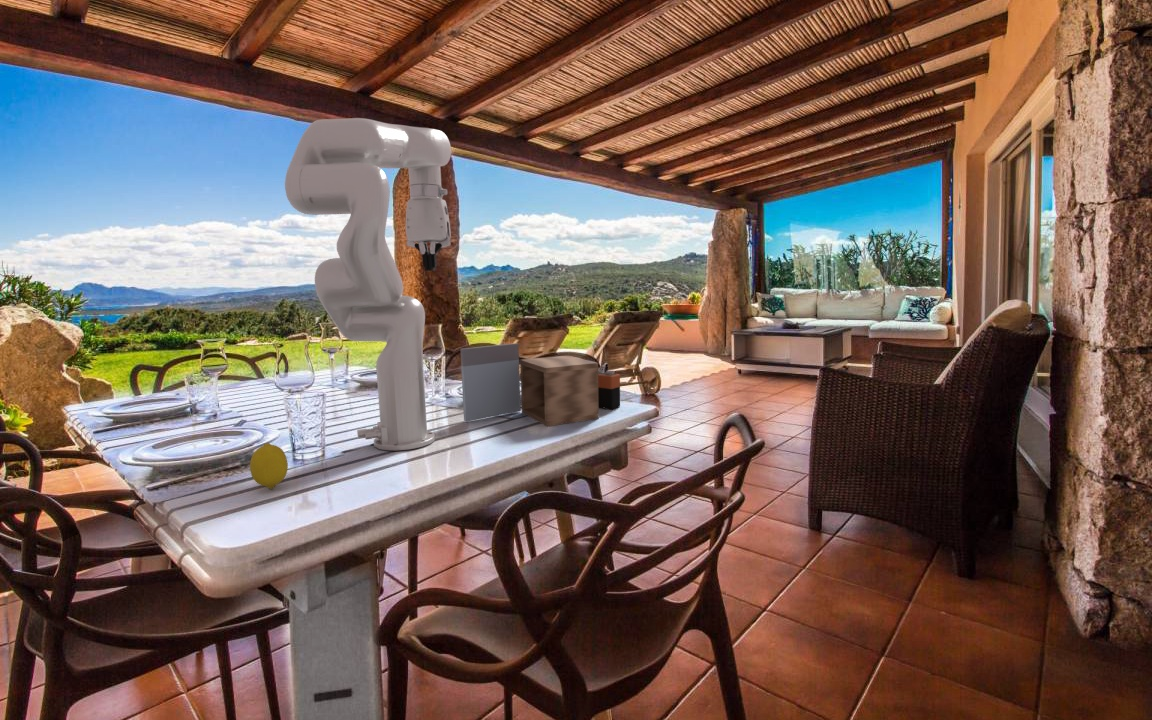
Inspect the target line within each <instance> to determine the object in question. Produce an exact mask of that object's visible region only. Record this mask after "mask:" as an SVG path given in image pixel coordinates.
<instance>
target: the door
mask: <svg viewBox="0 0 1152 720" xmlns="http://www.w3.org/2000/svg"><path fill="white" fill-rule="evenodd" d="M519 348H520V347H519V343H516V342H514V343H513V342H512V343H506V344H496V345H486V346H476V347H475V346H474V347H466V348H460V349H459V350H460V365H461V366H460V368H461V369H460V370H461V371H460V372H461V384H462V385H461V387H462V390H461V391H462V408H463V421H465V422H470V421H476V420H482V419H485V418H487V419H488V418H491V417H495V416H501V415H507V414H511V413H517V412H522V405H521V375H520V352H519V351H520V349H519Z"/></svg>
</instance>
